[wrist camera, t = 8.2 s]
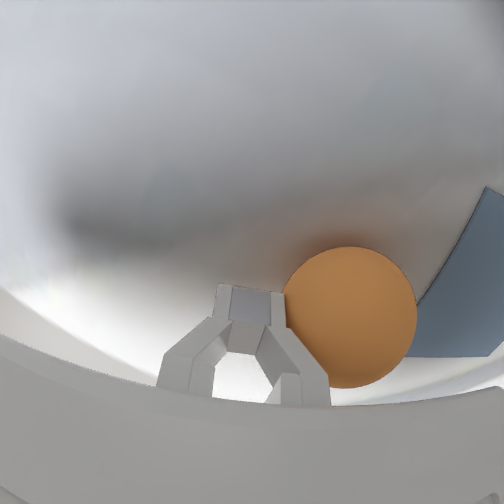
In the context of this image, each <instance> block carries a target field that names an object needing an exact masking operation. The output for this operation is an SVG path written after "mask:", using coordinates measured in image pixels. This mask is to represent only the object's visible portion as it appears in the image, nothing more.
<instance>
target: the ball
mask: <svg viewBox="0 0 504 504" xmlns="http://www.w3.org/2000/svg"><path fill="white" fill-rule="evenodd" d="M282 293H283V294H284V299H285V314H286V328H290V329H291V330H292V331H293V332H294V334H295V335H296V336H297V337H298V339H299V340H300V341H301V342H302V344H303V345H304V346H305V347H306V348H307V350H308V351H309V352H310V353H311V355H312V356H313V357H314V358H315V360H316V361H317V362H318V363H319V365H320V366H321V367H322V368H323V369H324V371H325V372H326V373H327V374H328V381H329V387H332V388H341V389H346V388H356V387H361V386H365V385H368V384H370V383H373V382H375V381H377V380H379V379H381V378H382V377H384V376H385V375H387V374H388V373H389V372H391V371H392V370H393V369H394V368H395V367H396V366H397V365H398V364H399V363H400V361H401V360H402V359H403V357H404V356H405V354H406V353H407V351H408V349H409V347H410V345H411V343H412V340H413V337H414V334H415V330H416V324H417V306H416V300H415V296H414V293H413V290H412V288H411V285H410V283H409V281H408V279H407V278H406V276H405V275H404V273H403V272H402V271H401V270H400V269H399V267H398V266H397V265H396V264H394V263H393V262H392V261H391V260H390V259H388V258H387V257H385V256H384V255H382V254H380V253H378V252H376V251H373V250H370V249H367V248H361V247H350V246H347V247H337V248H333V249H329V250H326V251H324V252H321V253H319V254H317V255H315V256H313V257H312V258H310V259H309V260H307V261H306V262H305V263H303V264H302V265H301V266H300V267H299V268H298V269H297V270H296V271H295V273H294V274H293V275H292V276H291V278H290V279H289V280H288V282H287V284H286V286H285V288H284V290H283V292H282Z"/></svg>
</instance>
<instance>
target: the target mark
mask: <svg viewBox="0 0 504 504" xmlns="http://www.w3.org/2000/svg"><path fill="white" fill-rule="evenodd" d="M503 340H504V197H503V196H501V195H500V194H498V193H496V192H494V191H492V190H491V189H489V188H487V187H486V189H485V191H484V193H483V195H482V197H481V199H480V201H479V203H478V206H477V208H476V210H475V212H474V214H473V216H472V218H471V219H470V221H469V223H468V225H467V227H466V229H465V231H464V233H463V234H462V236H461V238H460V240H459V241H458V243H457V245H456V247H455V248H454V250H453V252H452V253H451V255H450V257H449V258H448V260H447V262H446V263H445V265H444V267H443V268H442V270H441V271H440V273H439V274H438V276H437V278H436V279H435V281H434V282H433V284H432V285H431V287H430V288H429V289H428V291H427V292H426V294H425V295H424V297H423V298H422V300H421V301H420V302H419V304H418V305H417V324H416V330H415V334H414V337H413V340H412V343H411V345H410V347H409V349H408V351H407V353H406V354H405V356H404V357H486V356H489V355H490V354H491V353H492V352H493V351H494V350H495V349H496V348H497V347H498V346H499V345H500V343H501V342H502V341H503Z"/></svg>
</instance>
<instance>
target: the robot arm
mask: <svg viewBox="0 0 504 504" xmlns="http://www.w3.org/2000/svg"><path fill="white" fill-rule="evenodd" d="M226 352H235V353H243V354H249V355H255V357H256V359H257V361H258V362H259V364H260V366H261V368H262V369H263V371H264V373H265V375H266V376H267V378H268V380H269V382H270V383H271V385H272V387H273V390H272V391H271V393H270V395H269V396H268V398H267V400H266V401H265V403H256V402H246V401H237V400H228V399H221V398H214V397H212V390H213V381H214V372H215V367H214V366H215V365H216V364H217V363H218V362H219V361H220V360H221V358H222V357H223V356H224V355H225V354H226ZM0 504H504V390H503V389H502V388H501V387H499V386H493V387H489V388H485V389H481V390H476V391H472V392H467V393H462V394H457V395H451V396H445V397H439V398H433V399H426V400H418V401H410V402H400V403H389V404H375V405H355V406H331V397H330V389H329V381H328V374H327V373H326V372H325V371H324V369H323V368H322V367H321V366H320V365H319V363H318V362H317V361H316V360H315V358H314V357H313V356H312V355H311V353H310V352H309V351H308V350H307V348H306V347H305V346H304V345H303V344H302V342H301V341H300V340H299V339H298V337H297V336H296V335H295V334H294V332H293V331H292V330H291V329H290V328H286V314H285V299H284V294H283V293H279V292H272V291H264V290H257V289H250V288H245V287H239V286H234V285H233V286H232V285H227V284H222V283H219V284H218V287H217V292H216V298H215V304H214V310H213V315H212V317H207V318H206V319H205V320H204V321H202V322H201V323H200V324H199V325H198V326H197V327H195V328H194V329H193V330H192V331H191V332H190V333H188V334H187V335H186V336H185V337H184V338H183V339H181V340H180V341H179V342H178V343H177V344H175V345H174V346H173V347H172V348H171V349H170V350H168V351H167V352H166V353H165V354H164V357H163V361H162V364H161V368H160V372H159V376H158V380H157V384H156V387H154V386H150V385H146V384H141V383H138V382H134V381H130V380H126V379H122V378H119V377H115V376H111V375H108V374H105V373H101V372H98V371H95V370H92V369H89V368H85V367H82V366H79V365H77V364H74V363H71V362H68V361H65V360H63V359H60V358H57V357H55V356H52V355H49V354H47V353H44V352H42V351H40V350H37V349H35V348H32V347H30V346H28V345H25V344H23V343H21V342H19V341H17V340H14V339H12V338H10V337H8V336H6V335H4V334H2V333H0Z"/></svg>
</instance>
